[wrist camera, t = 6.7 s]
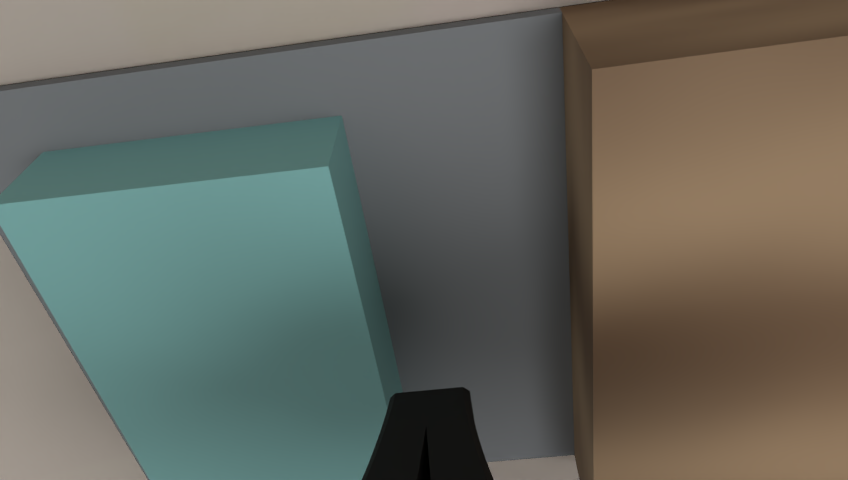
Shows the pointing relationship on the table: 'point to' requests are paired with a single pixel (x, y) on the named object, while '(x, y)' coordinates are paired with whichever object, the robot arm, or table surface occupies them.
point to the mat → (394, 189)
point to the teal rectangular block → (217, 296)
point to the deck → (708, 238)
